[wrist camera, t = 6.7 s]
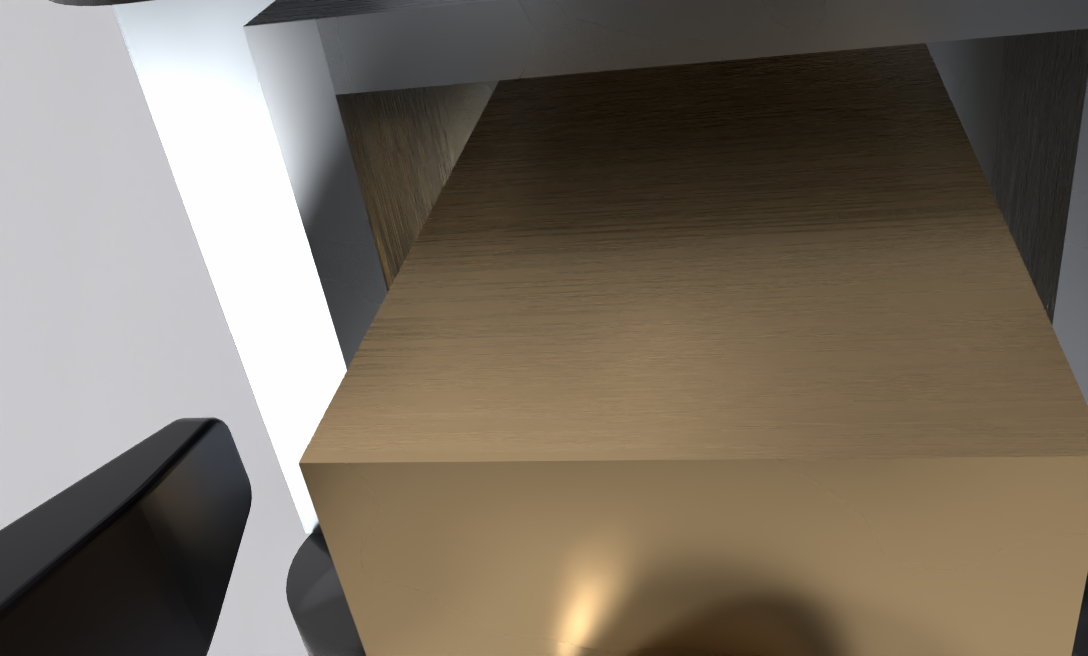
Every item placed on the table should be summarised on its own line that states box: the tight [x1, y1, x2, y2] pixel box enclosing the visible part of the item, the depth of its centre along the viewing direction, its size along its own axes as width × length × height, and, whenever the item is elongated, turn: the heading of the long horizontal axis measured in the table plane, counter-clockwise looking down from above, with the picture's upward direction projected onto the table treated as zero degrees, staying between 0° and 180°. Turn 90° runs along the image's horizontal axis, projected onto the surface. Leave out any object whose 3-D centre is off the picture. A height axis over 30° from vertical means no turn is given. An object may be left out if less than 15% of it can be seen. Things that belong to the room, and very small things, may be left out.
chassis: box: [49, 0, 1088, 656], centre depth 11 cm, size 12×10×4 cm
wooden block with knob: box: [298, 43, 1088, 656], centre depth 9 cm, size 4×5×7 cm
